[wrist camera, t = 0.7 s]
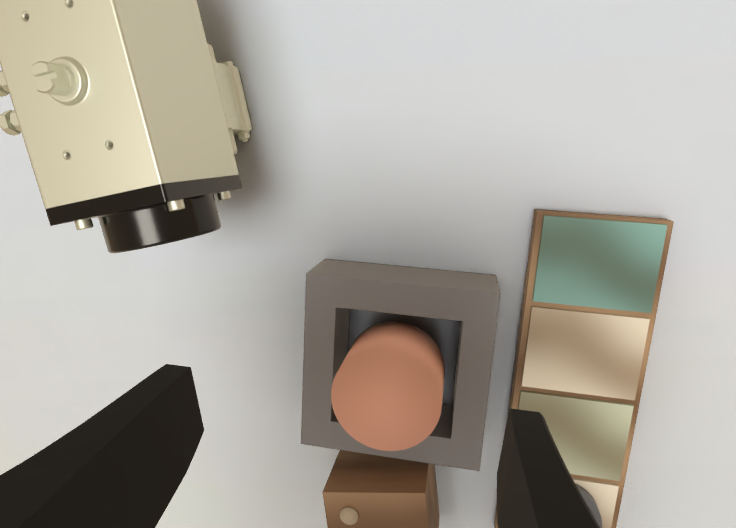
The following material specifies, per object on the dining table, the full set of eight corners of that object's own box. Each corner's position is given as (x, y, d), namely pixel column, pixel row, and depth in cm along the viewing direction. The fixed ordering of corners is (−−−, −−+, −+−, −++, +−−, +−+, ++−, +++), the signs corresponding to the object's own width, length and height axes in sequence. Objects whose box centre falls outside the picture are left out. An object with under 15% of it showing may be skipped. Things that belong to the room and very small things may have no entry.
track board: (605, 543, 29) (611, 559, 28) (494, 524, 30) (495, 539, 29) (665, 218, 25) (675, 222, 24) (534, 209, 26) (538, 212, 25)
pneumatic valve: (231, -24, 26) (47, -161, 15) (284, 208, 28) (160, 250, 17) (134, 5, 27) (-108, -100, 16) (192, 226, 29) (16, 276, 18)
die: (439, 515, 30) (434, 587, 25) (355, 514, 31) (334, 582, 26) (431, 436, 29) (425, 495, 24) (345, 437, 30) (321, 494, 25)
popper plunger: (440, 418, 26) (436, 458, 23) (345, 405, 27) (328, 442, 23) (449, 327, 25) (446, 354, 22) (350, 316, 26) (333, 341, 22)
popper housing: (477, 433, 29) (479, 471, 26) (319, 410, 30) (300, 443, 27) (495, 275, 27) (500, 293, 24) (324, 258, 28) (306, 273, 25)
